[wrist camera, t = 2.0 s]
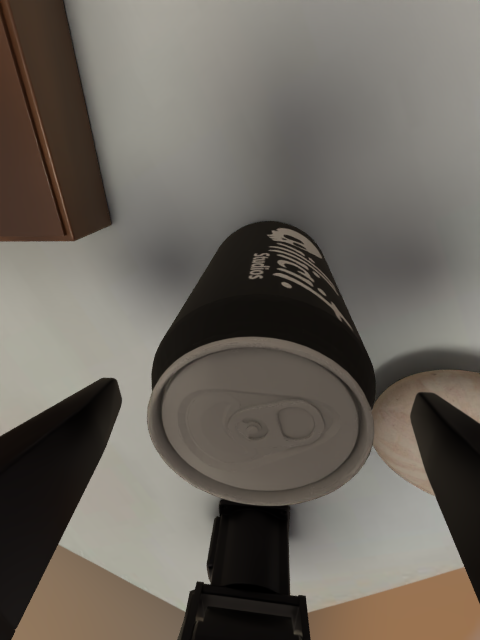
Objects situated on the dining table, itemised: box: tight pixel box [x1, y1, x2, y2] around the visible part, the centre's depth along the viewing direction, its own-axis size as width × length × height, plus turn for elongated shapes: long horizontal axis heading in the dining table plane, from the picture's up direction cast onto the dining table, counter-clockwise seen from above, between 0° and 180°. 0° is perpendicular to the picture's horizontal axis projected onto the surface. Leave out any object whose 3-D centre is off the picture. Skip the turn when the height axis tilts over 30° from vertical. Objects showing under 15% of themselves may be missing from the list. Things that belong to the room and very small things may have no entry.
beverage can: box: [147, 221, 376, 506], centre depth 13 cm, size 7×7×12 cm
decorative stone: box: [372, 370, 480, 496], centre depth 20 cm, size 13×9×5 cm
